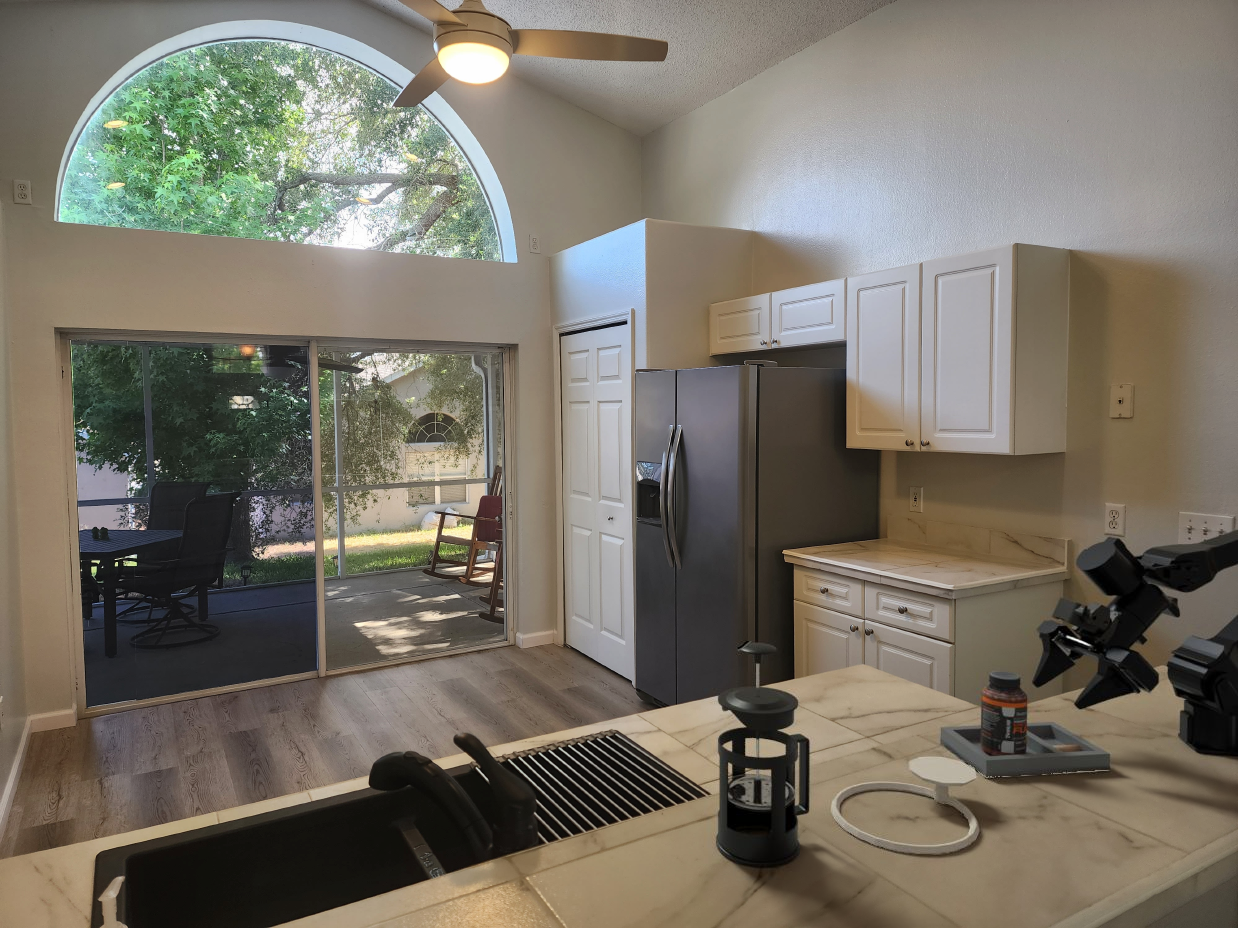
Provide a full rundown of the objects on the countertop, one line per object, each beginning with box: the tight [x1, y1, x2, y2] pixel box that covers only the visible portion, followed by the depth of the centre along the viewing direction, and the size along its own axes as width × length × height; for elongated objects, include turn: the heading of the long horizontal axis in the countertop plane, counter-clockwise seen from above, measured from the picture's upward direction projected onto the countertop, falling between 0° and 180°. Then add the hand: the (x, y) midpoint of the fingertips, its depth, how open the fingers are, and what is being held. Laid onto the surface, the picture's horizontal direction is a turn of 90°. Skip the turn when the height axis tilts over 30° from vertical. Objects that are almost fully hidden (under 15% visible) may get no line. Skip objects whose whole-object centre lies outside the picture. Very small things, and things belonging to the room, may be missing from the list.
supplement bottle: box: [980, 670, 1028, 756], centre depth 112 cm, size 6×6×11 cm
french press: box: [715, 642, 811, 869], centre depth 89 cm, size 12×9×23 cm
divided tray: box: [939, 721, 1111, 777], centre depth 113 cm, size 18×12×2 cm, turn 96°
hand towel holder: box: [830, 756, 981, 855], centre depth 96 cm, size 17×4×21 cm
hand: (1054, 695), depth 113 cm, fingers open, 9 cm apart
